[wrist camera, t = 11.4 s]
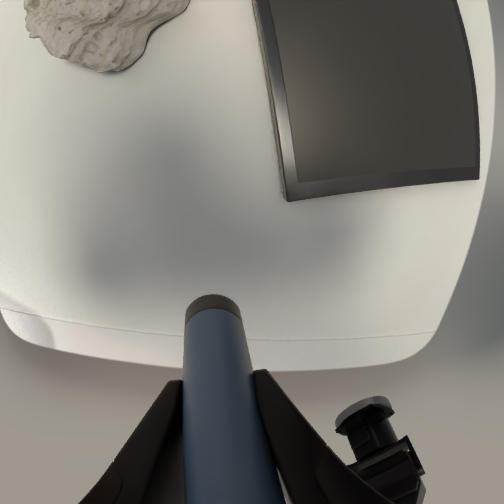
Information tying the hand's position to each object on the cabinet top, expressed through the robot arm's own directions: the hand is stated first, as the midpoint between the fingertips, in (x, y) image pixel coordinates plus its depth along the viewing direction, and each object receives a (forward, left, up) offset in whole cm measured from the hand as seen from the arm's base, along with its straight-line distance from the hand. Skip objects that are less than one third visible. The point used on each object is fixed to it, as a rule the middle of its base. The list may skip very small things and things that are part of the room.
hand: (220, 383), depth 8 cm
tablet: (+5, -21, -10) cm, 24 cm away
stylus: (0, 0, -4) cm, 4 cm away
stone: (+14, -9, -10) cm, 20 cm away
